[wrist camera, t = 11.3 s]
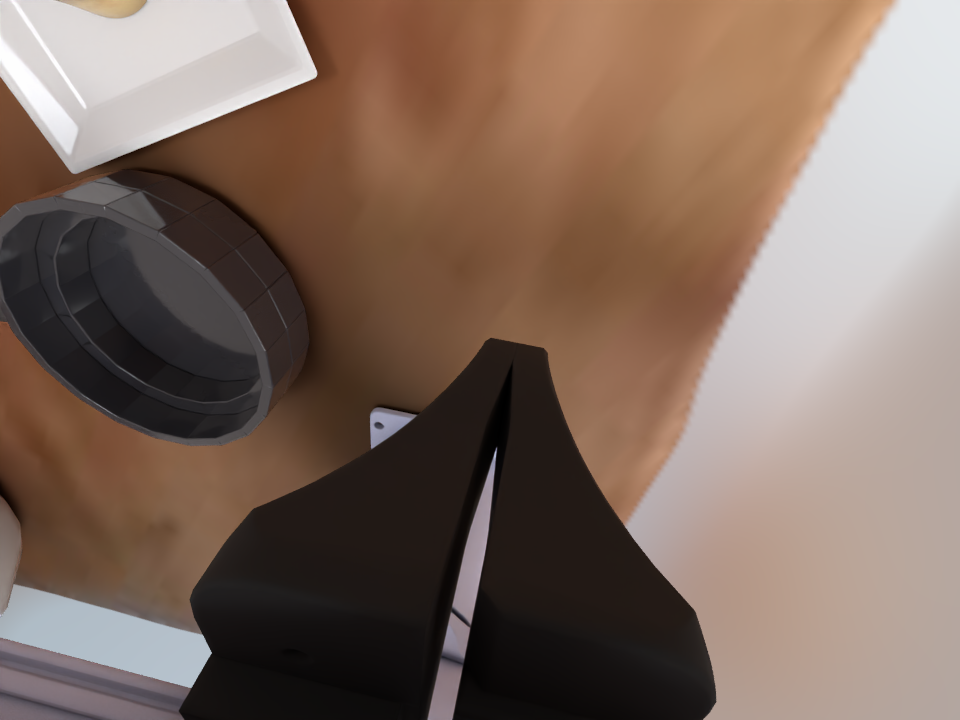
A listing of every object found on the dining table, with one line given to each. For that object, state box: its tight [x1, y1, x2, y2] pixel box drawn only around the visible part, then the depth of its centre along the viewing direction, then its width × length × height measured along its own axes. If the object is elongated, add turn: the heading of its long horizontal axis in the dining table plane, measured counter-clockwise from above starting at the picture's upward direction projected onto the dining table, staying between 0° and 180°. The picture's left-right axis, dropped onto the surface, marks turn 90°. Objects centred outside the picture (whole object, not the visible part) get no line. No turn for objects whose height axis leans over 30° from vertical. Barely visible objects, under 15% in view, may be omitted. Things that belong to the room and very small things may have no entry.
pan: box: [0, 169, 309, 446], centre depth 23 cm, size 12×12×4 cm
